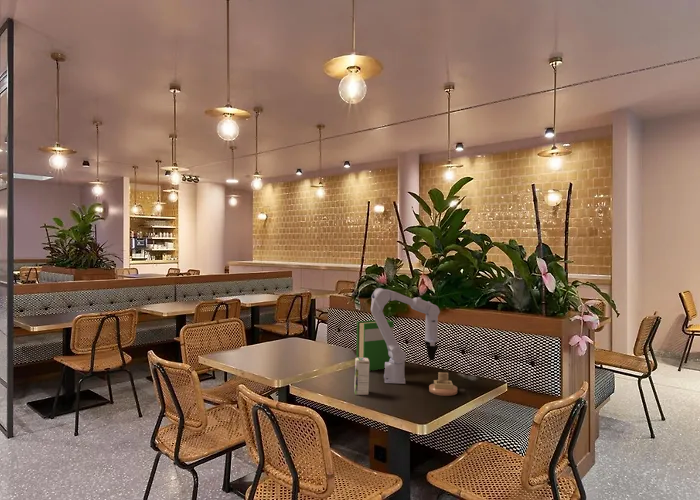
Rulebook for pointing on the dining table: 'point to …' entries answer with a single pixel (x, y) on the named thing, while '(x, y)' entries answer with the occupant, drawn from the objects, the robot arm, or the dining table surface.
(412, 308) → the robot arm
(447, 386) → the tan rounded piece
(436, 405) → the dining table surface
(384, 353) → the hardback book
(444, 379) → the tall wooden block
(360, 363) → the syrup box
